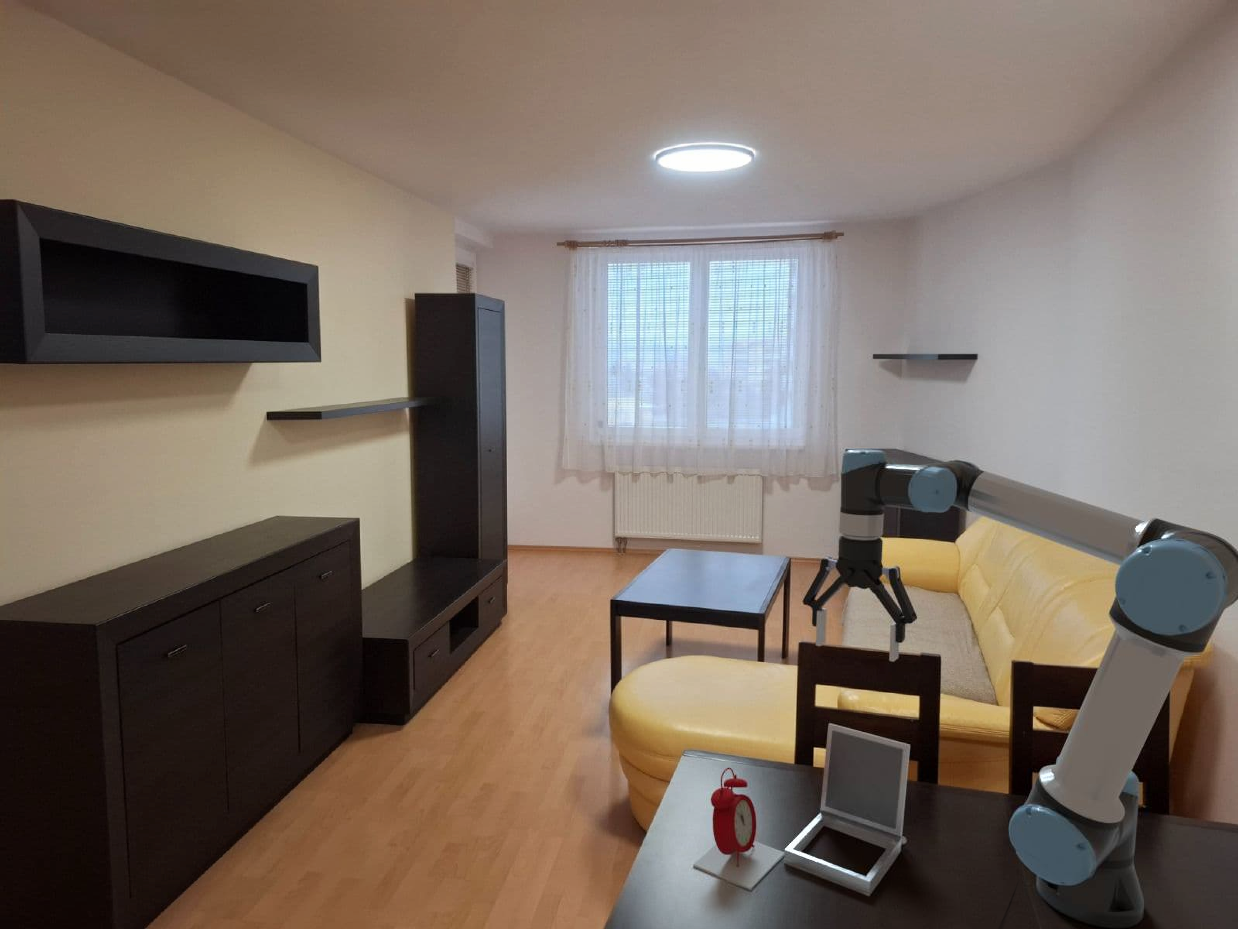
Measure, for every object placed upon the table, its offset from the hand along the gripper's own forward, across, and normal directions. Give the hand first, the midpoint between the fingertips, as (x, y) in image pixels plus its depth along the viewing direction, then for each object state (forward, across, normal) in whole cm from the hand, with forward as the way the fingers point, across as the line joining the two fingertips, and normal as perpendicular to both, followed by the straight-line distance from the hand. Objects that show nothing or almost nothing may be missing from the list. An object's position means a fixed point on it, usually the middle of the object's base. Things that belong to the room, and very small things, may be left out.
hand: (856, 651), depth 147 cm
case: (+35, -2, +8) cm, 36 cm away
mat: (+35, +12, +20) cm, 42 cm away
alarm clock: (+34, +14, +20) cm, 42 cm away
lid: (+31, -2, 0) cm, 32 cm away
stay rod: (+35, -8, -3) cm, 36 cm away
